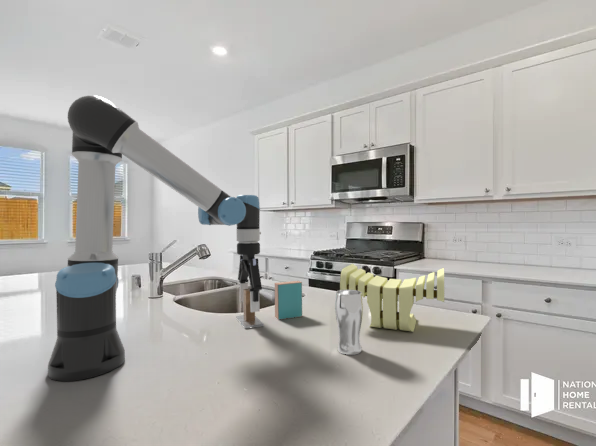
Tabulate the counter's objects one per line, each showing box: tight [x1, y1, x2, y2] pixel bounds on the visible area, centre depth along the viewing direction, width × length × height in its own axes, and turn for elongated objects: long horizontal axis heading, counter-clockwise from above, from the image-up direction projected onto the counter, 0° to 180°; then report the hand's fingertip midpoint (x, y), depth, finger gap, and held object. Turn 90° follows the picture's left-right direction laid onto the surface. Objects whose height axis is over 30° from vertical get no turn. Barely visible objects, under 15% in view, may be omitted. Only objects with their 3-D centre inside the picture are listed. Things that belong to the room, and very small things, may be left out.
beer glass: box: [334, 289, 364, 356], centre depth 85 cm, size 7×7×15 cm
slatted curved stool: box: [339, 263, 445, 333], centre depth 106 cm, size 30×16×18 cm, turn 67°
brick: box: [274, 280, 303, 320], centre depth 115 cm, size 3×9×12 cm, turn 114°
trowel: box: [235, 287, 265, 329], centre depth 109 cm, size 12×6×11 cm, turn 24°
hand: (249, 306), depth 109 cm, fingers open, 13 cm apart
